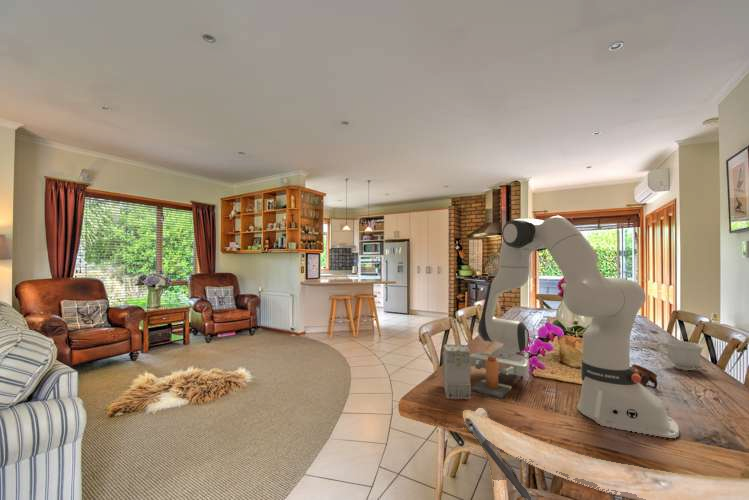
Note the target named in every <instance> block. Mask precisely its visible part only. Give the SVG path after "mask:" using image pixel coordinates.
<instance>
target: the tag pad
mask: <svg viewBox="0 0 749 500" xmlns="http://www.w3.org/2000/svg"><path fill="white" fill-rule="evenodd" d="M511 390H512V386H511V385H508V384H505V383H504V384H503V383H500V382H498V389H489V388H487V387H486V379H482V380H480V381H479V382H477V383H476V384H474V386H471V391H474V392H477V393H481V394H485V395H488V396H492V397H497V398H500V399H502V398H503V397H505V395H506V394H507V393H509V392H510V391H511Z"/></svg>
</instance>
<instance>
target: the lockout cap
mask: <svg viewBox="0 0 749 500" xmlns="http://www.w3.org/2000/svg"><path fill="white" fill-rule="evenodd" d="M485 380H486V387H487V388H489V389H498V383H499V371H498V360H496V357H495V356H488V359H486V369H485Z"/></svg>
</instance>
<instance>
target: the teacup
mask: <svg viewBox="0 0 749 500" xmlns="http://www.w3.org/2000/svg"><path fill="white" fill-rule="evenodd" d="M661 345H662V346H663V348H664V349H667V352H665V351H663V350H661V349H660V348H659V347H660V346H661ZM704 348H705V346H704V345H703V344H701V343H700V344H699V343H695V342H691V341H685V340H684V341H683V340H674V339H673V340H672V339H671V340H670V339H669V340H665V341H663V342H661V341H659V342H657V343H656V345H655V349H656V350H657V352H659V353H660V354H663V355H665V356H666V357H668V359H669V361H670V362H671V363H672V364H674V368H676V369H678V370H681V369H682V371H688V370H693V371H694V370H695V368H697V366H698V365H700V363H701V362H700V361H701V356H702V350H703V349H704Z"/></svg>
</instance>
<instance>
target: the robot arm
mask: <svg viewBox="0 0 749 500" xmlns="http://www.w3.org/2000/svg"><path fill="white" fill-rule="evenodd" d="M501 236H502V240H503V242H502V243H501V246H500V252H499V257H498V259H499V260H498V270H497V273H496V274H495V276H494V277H493V278H490V281H489V283H488V285H487V289H486V292H485V293H486V294H485V297H484V303H483V308H482V311H481V316H480V320H479V323H478V327H477V332H478V335H479V336H480V338H481V339H482V340H483V341H484V342H488V343H489V342H490V343H498V344H503V345H502V346H500V347H498V348H496V349H494V350H493V351H492V352H491V353H484V352H474V353H471V354H470V362H471V365H470V367H474V369H478V370H481V369H485V370H486V359H488V356H495V357H496V360H498V373H502V375H504V376H509V375H515V376H519V377H528V376H529V373H530V358H529V355H527V351H526V352H524V353H523V354H522V353H519V352H521V351H522V350H524V349H527V348H528V346H529V342H530V341H529V340H530V333H529V329H528V328H527V327H526V324H525V323H523V321H521V320H519V321H518V320H513V319H508V318H507V319H506V318H501V317H500V318H499V317H496V316H495V312H496V308H497V303H498V299H499V296H500V295H501V294H503V293H506V292H510V291H513V290H517V289H520V288H522V287H523V286H524V285H526V283H527V282H528V280H529V276H530V257H531V254H532V252H534V251H536V252H538V253H539V252H542V251H545V250H547V251H548V253H549V255H550V256H551V258H552V260H553V261H554V262H555V263H556V265H557V267H558V268H559V270H560V271H561V273H562V276H563V278H564V282H565V288H564V291H563V295H562V296H563V297H562V298H563V299H562V300H563V303H564V305H565V307H566V309H568V311H569V312H570V313H572V314H574V315H577V316H581V317H584V318H591V322H590V324H589V325H588V327H587V328H586V329H585V331H584V332H583V334H582V360H581V363H580V377H581V380H582V383H581V384H582V385H581V391H580V392H581V393H580V396H579V401H578V404H577V410H578V412H580V413H581V414H582V415H583V416H586V417H588V418H589V419H591V420H593V421H595V422H596V423H597V424H598V425H599V424H600V426H602V427H605V426H606V428H610V427H611V428H612V429H615V428H616V430H621V431H625V430H626V432H630V431H632V432H631V433H635V432H637V433H636V434H641V433H643V434H642V435H646V434H650V435H649V436H651V435H658V436H664V437H669V438H675V439H676V437H677V438H678V437H679V436H680V428H679V424H678V423H677V422H676V421H675V420H674V419H673V418H672V417H670V416H668V413H667V409H666V407H665V405H664V403H663V401H662V399H661V398H659V397H658V396H657V395H656V394H654V393H653V392H652V391H650V390H649V389H648V388H647V387H644V386H643V385H641V384H640V383H639V382H640V381H641V377H640V375H639V373H638V371H637V369H636V370H634V369H633V368H631V367H632V366H630V365H631V364H630V342H631V335H632V331H633V327H634V324H635V321H636V317H637V315H638V313H639V311H640V310H641V308H642V307H643V306H644V304H645V303H646V293H645V290H644V288H643V287H642V286H641V284H639V283H637V282H635V281H632V280H630V279H627V278H622V277H605V276H604V275H603V274H602V273H601V271H600V268H599V266H598V262H599V259H600V258H599V254H598V253H597V251H596V250H595V249H594V248H593V247H592V245H591V244H590V242H589V241H588V240H587V238H586V237H585V236H584V235H583V234H582V232H581V231H580V230H579V229H578V228H577V227H576V226H575V224H573V223H572V222H571V221H569V220H568V219H567V218H565V217H564V216H561V215H554V216H553V215H552V216H550V217H548V218H547V219H545V220H543V219H537V218H514V219H510V220H508V221H507V222H506V223H505V224H504V226H503V227H502V232H501ZM526 347H527V348H526ZM611 428H610V429H611Z"/></svg>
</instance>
